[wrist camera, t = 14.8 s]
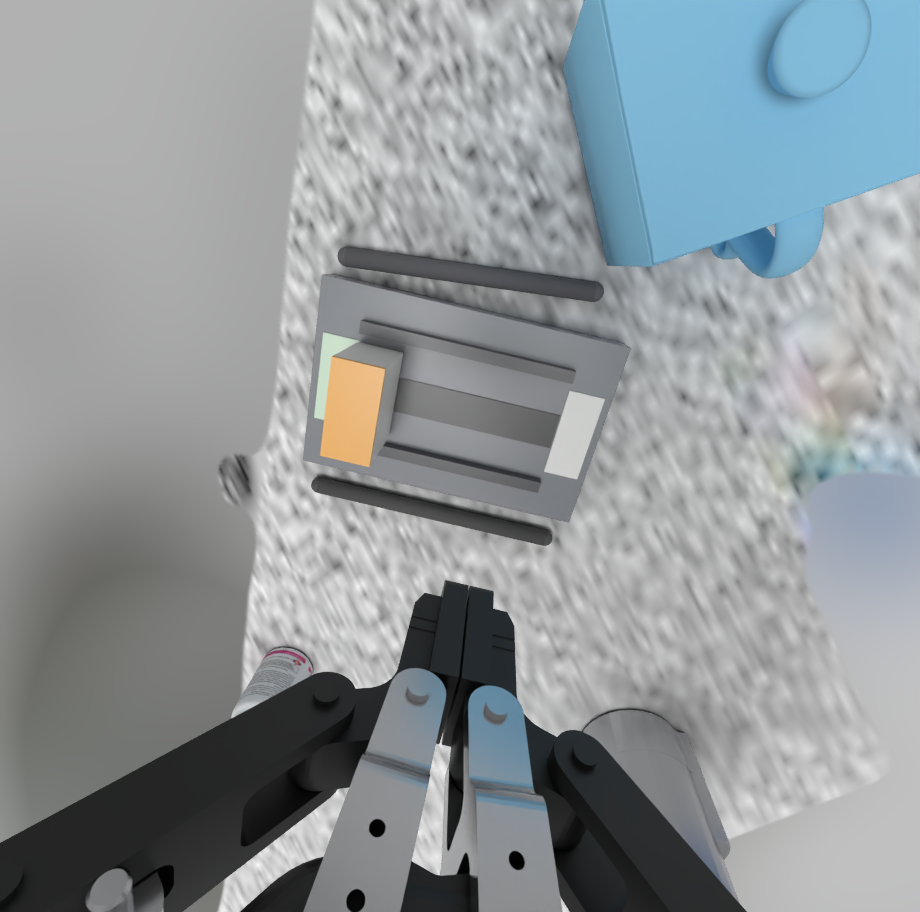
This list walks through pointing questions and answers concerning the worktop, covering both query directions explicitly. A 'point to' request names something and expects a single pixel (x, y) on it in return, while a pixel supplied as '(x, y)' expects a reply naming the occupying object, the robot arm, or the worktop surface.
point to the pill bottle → (274, 677)
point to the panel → (472, 396)
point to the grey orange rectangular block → (360, 402)
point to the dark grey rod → (431, 511)
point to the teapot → (740, 120)
